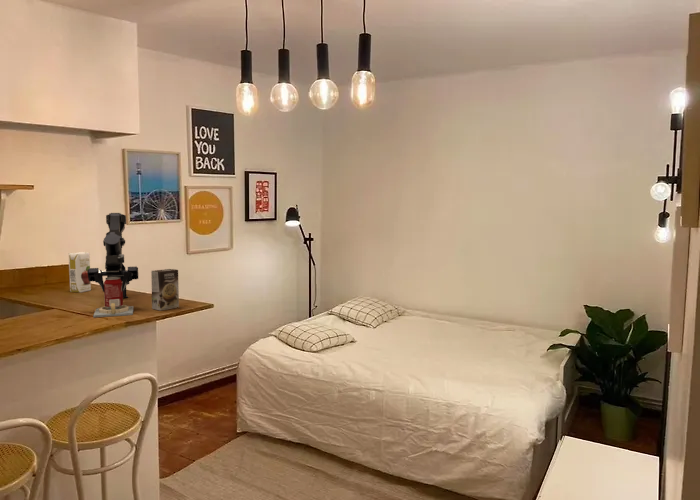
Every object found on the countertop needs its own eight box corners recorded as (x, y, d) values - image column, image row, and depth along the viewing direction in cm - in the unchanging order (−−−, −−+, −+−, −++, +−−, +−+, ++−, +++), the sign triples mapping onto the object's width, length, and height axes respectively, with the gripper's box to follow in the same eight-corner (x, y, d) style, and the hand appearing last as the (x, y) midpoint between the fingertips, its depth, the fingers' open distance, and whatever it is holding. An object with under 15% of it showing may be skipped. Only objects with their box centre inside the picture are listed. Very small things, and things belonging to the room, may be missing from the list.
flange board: (96, 310, 216) (96, 298, 215) (133, 307, 221) (133, 296, 220) (93, 317, 203) (92, 305, 202) (132, 314, 208) (132, 302, 207)
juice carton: (67, 292, 256) (65, 253, 254) (81, 289, 264) (79, 251, 262) (80, 293, 254) (78, 253, 252) (93, 290, 262) (92, 252, 260)
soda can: (121, 308, 209) (120, 278, 208) (103, 309, 207) (102, 279, 206) (124, 305, 216) (123, 276, 214) (106, 305, 214) (105, 276, 213)
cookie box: (160, 310, 215) (159, 271, 214) (151, 308, 219) (150, 270, 218) (179, 307, 222) (178, 269, 221) (170, 305, 226) (169, 268, 225)
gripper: (86, 248, 209) (84, 280, 200) (137, 247, 216) (137, 277, 207) (89, 265, 218) (88, 296, 208) (138, 263, 224) (138, 293, 215)
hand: (113, 290), depth 210 cm, fingers closed on soda can, 7 cm apart
